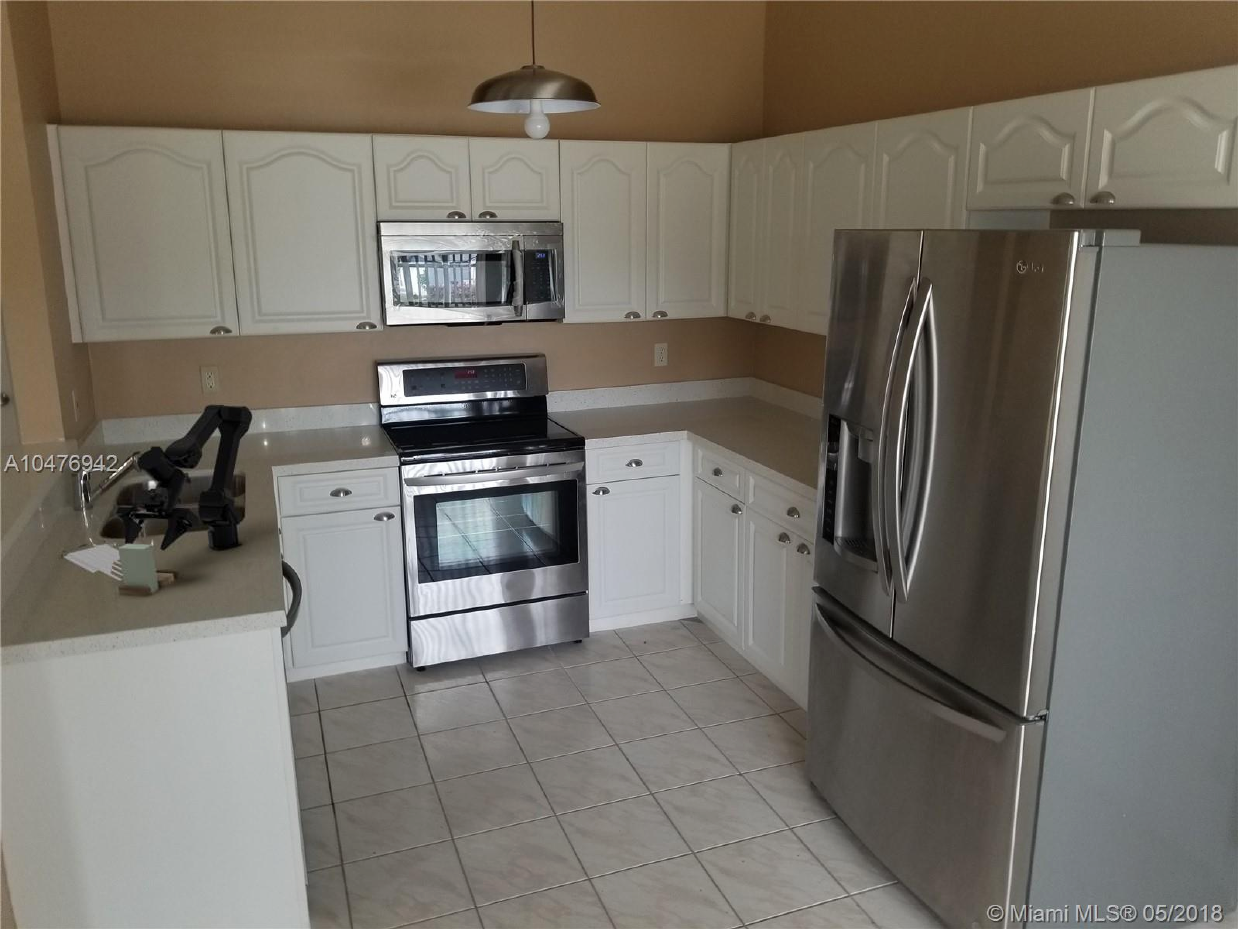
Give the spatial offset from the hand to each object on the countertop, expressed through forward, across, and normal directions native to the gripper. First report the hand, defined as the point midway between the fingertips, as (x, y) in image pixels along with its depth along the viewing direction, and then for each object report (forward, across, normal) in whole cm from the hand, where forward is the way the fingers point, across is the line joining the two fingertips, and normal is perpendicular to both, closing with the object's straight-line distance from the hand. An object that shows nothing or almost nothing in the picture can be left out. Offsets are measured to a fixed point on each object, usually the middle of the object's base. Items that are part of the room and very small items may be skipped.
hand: (144, 548), depth 217 cm
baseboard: (-1, -21, +17) cm, 27 cm away
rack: (+7, 0, +7) cm, 10 cm away
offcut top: (+4, 0, +8) cm, 9 cm away
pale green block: (+9, 0, +5) cm, 10 cm away
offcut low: (+5, 0, +8) cm, 10 cm away
